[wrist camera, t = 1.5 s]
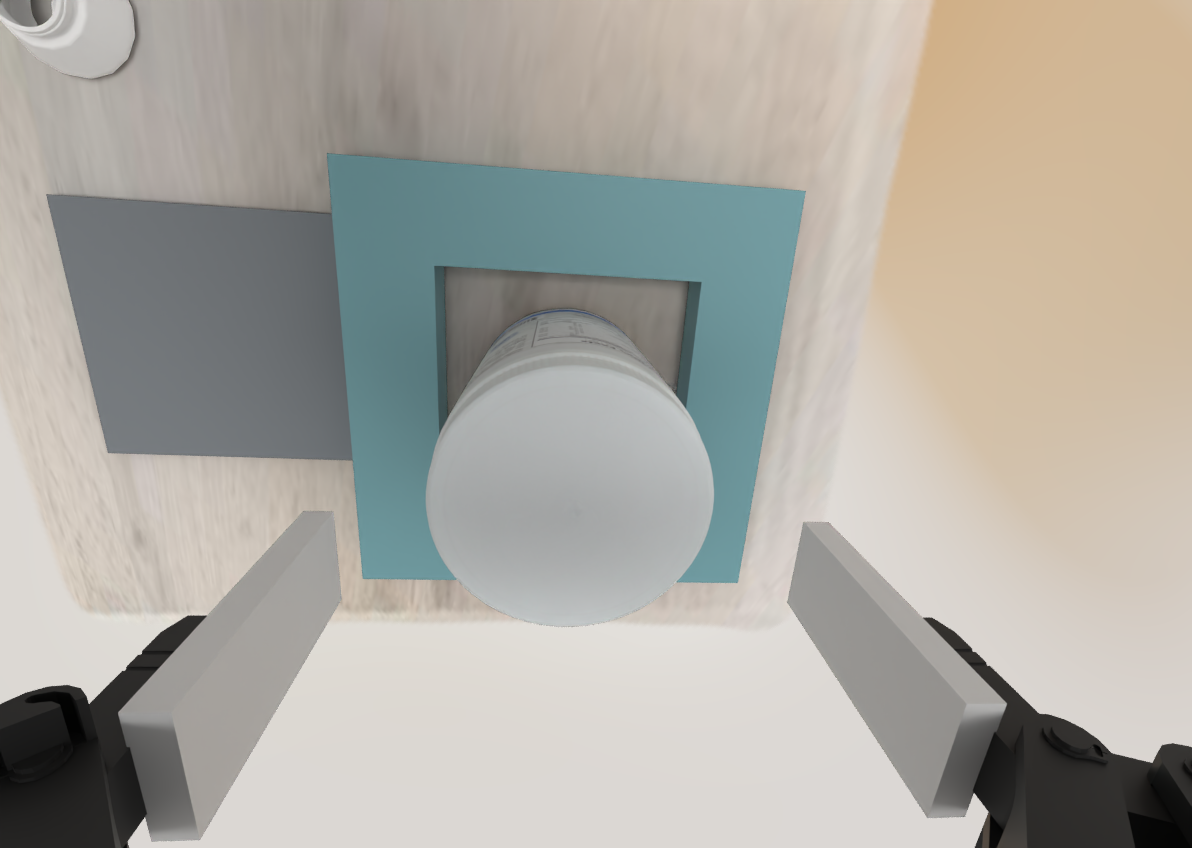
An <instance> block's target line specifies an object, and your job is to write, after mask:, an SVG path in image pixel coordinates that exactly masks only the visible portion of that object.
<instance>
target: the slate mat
mask: <svg viewBox="0 0 1192 848" xmlns="http://www.w3.org/2000/svg"><path fill="white" fill-rule="evenodd" d="M46 195H47V200H48V204H49V208H50V212H51V216H52V220H53V225H54V229H55V233H56V237H57V241H58V246H59V250H60V254H61V258H62V262H63V267H64V271H65V275H66V279H67V283H68V287H69V292H70V296H71V300H72V304H73V308H74V313H75V317H76V321H77V325H78V329H79V333H80V338H81V342H82V346H83V350H84V354H85V359H86V363H87V367H88V371H89V375H90V379H91V384H92V388H93V392H94V396H95V400H96V405H97V409H98V413H99V417H100V421H101V426H102V430H103V434H104V438H105V442H106V446H107V451H108V453H123V454H157V455H190V456H224V457H257V458H291V459H325V460H353V457H352V445H351V433H350V421H349V410H348V398H347V386H346V374H345V362H344V350H343V339H342V327H341V315H340V303H339V291H338V279H337V268H336V256H335V244H334V232H333V220H332V214H324V213H309V212H295V211H281V210H266V209H252V208H237V207H223V206H208V205H194V204H179V203H165V202H150V201H136V200H121V199H107V198H92V197H78V196H63V195H49V194H46Z"/></svg>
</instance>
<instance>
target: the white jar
mask: <svg viewBox="0 0 1192 848" xmlns="http://www.w3.org/2000/svg"><path fill="white" fill-rule="evenodd" d="M51 8H52V13H53V14H52V16H51V17H50V19H49V20H48V21H46V22H45V23H43V24H42V25H39V26H38V25H37V23H36V21H35V19H34V17H33V15H32V10H31V3H30V0H0V21H1V22H2V23H3V24H4V25H5V26H6V27H7V28H8V29H9V30H10V31H11V32H12V34H13V35H14V36H15V37H16V38H17V39H18V40H19V41H20V42H21V43H22V44H23V45H24V46H25V47H26V48H27V49H28V50H29V51H30V53H31V54H32V55H33V56H34V57H35V58H36V59H38V60H40V61H42V62H43V63H45V64H47V65H49V66H50V67H52V68H54V69H55V70H57V71H59V72H61V73H64V74H67V75H73V76H78V77H84V78H89V79H93V78H97V77H101V76H105V75H109V74H112V73H114V72H115V71H116V70H117V69H118V68H119V67H120V66H121V65H122V64H123V63H124V62H125V61H126V60H127V59H128V57H129V54H130V51H131V48H132V45H133V42H134V39H135V29H134V18H133V9H132V7H131V5H130V3H129V0H52V2H51Z"/></svg>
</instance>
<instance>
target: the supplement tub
mask: <svg viewBox="0 0 1192 848" xmlns="http://www.w3.org/2000/svg"><path fill="white" fill-rule="evenodd" d="M713 504H714V485H713V474H712V469H711V464H710V461H709V457H708V454H707V452H706V449H705V446H704V444H703V442H702V440H701V437H700V434H699V432H698V430H697V428H696V425H695V423H694V421H693V419H692V418H691V416H690V414H689V413H688V411H687V410H686V409H685V407H684V406H683V404H682V403H681V401H680V400H679V399H678V397H677V396H676V395H675V394H674V392H673V391H672V390H671V388H670V387H669V386H668V385H667V383H666V382H665V381H664V380H663V379H662V377H661V376H660V375H659V374H658V372H657V371H656V370H655V369H654V367H653V366H652V365H651V364H650V363H649V361H648V360H647V359H646V358H645V357H644V355H643V354H642V353H641V352H640V351H639V349H638V348H637V347H636V346H635V345H634V343H633V342H632V341H631V340H630V339H629V338H628V337H627V335H625V334H624V333H623V332H622V331H621V330H620V329H619V328H618V327H617V326H615V325H614V324H612V323H611V322H610V321H608V320H606V319H604V318H603V317H600V316H598V315H596V314H593V313H590V312H586V311H583V310H577V309H568V308H561V309H550V310H545V311H540V312H536V313H533V314H531V315H528V316H526V317H524V318H522V319H521V320H519V321H517V322H516V323H514V324H513V325H511V326H510V327H509V328H507V329H506V330H505V331H504V332H503V333H502V334H501V335H500V336H499V337H498V338H497V339H496V340H495V342H494V343H493V344H492V346H491V347H490V349H489V350H488V352H487V353H486V355H485V356H484V358H483V360H482V361H481V363H480V365H479V366H478V368H477V369H476V371H475V373H474V374H473V376H472V378H471V379H470V381H469V382H468V384H467V386H466V387H465V389H464V391H463V392H462V394H461V396H460V398H459V399H458V401H457V403H456V405H455V406H454V408H453V410H452V411H451V413H450V415H449V417H448V419H447V421H446V423H445V424H444V426H443V428H442V430H441V432H440V435H439V437H438V440H437V443H436V446H435V449H434V453H433V457H432V462H431V466H430V469H429V473H428V479H427V485H426V512H427V518H428V524H429V528H430V532H431V535H432V538H433V541H434V543H435V546H436V548H437V550H438V552H439V555H440V556H441V558H442V560H443V562H444V563H445V565H446V566H447V568H448V569H449V570H450V572H451V573H452V574H453V575H454V577H455V578H456V579H457V580H458V581H459V582H460V583H461V584H462V585H463V587H464V588H465V589H467V590H468V591H469V592H470V593H471V594H473V595H474V596H475V597H477V598H478V599H479V600H481V601H482V602H483V603H485V604H486V605H488V606H490V607H492V608H494V609H495V610H497V611H499V612H502V613H504V614H506V615H508V616H511V617H513V618H516V619H519V620H522V621H525V622H530V623H534V624H539V625H546V626H556V627H577V626H588V625H594V624H599V623H603V622H607V621H611V620H614V619H618V618H621V617H623V616H626V615H628V614H630V613H633V612H635V611H637V610H639V609H641V608H643V607H644V606H646V605H648V604H649V603H651V602H653V601H654V600H656V599H657V598H658V597H660V596H661V595H662V594H664V593H665V592H666V591H667V590H668V589H669V588H671V587H672V586H673V585H674V584H675V583H676V582H677V581H678V580H679V579H680V578H681V577H682V575H683V574H684V573H685V572H686V570H687V569H688V568H689V567H690V565H691V564H692V562H693V561H694V559H695V558H696V556H697V554H698V552H699V551H700V549H701V547H702V545H703V542H704V540H705V538H706V535H707V532H708V529H709V526H710V521H711V517H712V512H713Z"/></svg>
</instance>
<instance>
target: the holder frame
mask: <svg viewBox="0 0 1192 848" xmlns="http://www.w3.org/2000/svg"><path fill="white" fill-rule="evenodd" d="M327 161H328V173H329V185H330V197H331V208H332V220H333V232H334V244H335V256H336V268H337V279H338V291H339V303H340V315H341V327H342V339H343V350H344V362H345V374H346V386H347V398H348V410H349V421H350V433H351V445H352V457H353V469H354V481H355V492H356V504H357V516H358V528H359V540H360V551H361V563H362V575H363V579H420V580H457V579H456V578H455V577H454V575H453V574H452V573H451V572H450V570H449V569H448V568H447V566H446V565H445V563H444V562H443V560H442V558H441V556H440V555H439V552H438V550H437V548H436V546H435V543H434V541H433V538H432V535H431V532H430V528H429V524H428V518H427V512H426V485H427V479H428V473H429V469H430V466H431V462H432V457H433V453H434V449H435V446H436V443H437V440H438V437H439V435H440V432H441V430H442V428H443V426H444V424H445V423H446V421H447V419H448V413H447V370H446V328H445V286H444V266H450V267H466V268H482V269H498V270H514V271H530V272H547V273H563V274H579V275H595V276H611V277H627V278H644V279H660V280H676V281H689V290H688V299H687V307H686V316H685V324H684V333H683V342H682V350H681V359H680V367H679V376H678V385H677V393H676V396H677V397H678V399H679V400H680V401H681V403H682V404H683V406H684V407H685V409H686V410H687V411H688V413H689V414H690V416H691V418H692V419H693V421H694V423H695V425H696V428H697V430H698V432H699V434H700V437H701V440H702V442H703V444H704V446H705V449H706V452H707V454H708V457H709V461H710V464H711V469H712V474H713V485H714V504H713V512H712V517H711V521H710V526H709V529H708V532H707V535H706V538H705V540H704V542H703V545H702V547H701V549H700V551H699V552H698V554H697V556H696V558H695V559H694V561H693V562H692V564H691V565H690V567H689V568H688V569H687V570H686V572H685V573H684V574H683V575H682V577H681V578H680V579H679V580H678V581H677V582H700V583H738V578H739V572H740V567H741V561H742V555H743V549H744V544H745V538H746V532H747V526H748V521H749V515H750V509H751V503H752V498H753V492H754V486H755V480H756V474H757V469H758V463H759V457H760V451H761V446H762V440H763V434H764V428H765V423H766V417H767V411H768V405H769V400H770V394H771V388H772V382H773V377H774V371H775V365H776V359H777V354H778V348H779V342H780V336H781V330H782V325H783V319H784V313H785V307H786V302H787V296H788V290H789V284H790V279H791V273H792V267H793V261H794V256H795V250H796V244H797V238H798V233H799V227H800V221H801V215H802V210H803V204H804V198H805V192H806V191H799V190H787V189H774V188H761V187H749V186H736V185H723V184H710V183H698V182H685V181H672V180H660V179H647V178H634V177H622V176H609V175H596V174H583V173H571V172H558V171H545V170H533V169H520V168H507V167H495V166H482V165H469V164H456V163H444V162H431V161H418V160H406V159H393V158H380V157H368V156H355V155H342V154H329V153H327Z"/></svg>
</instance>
